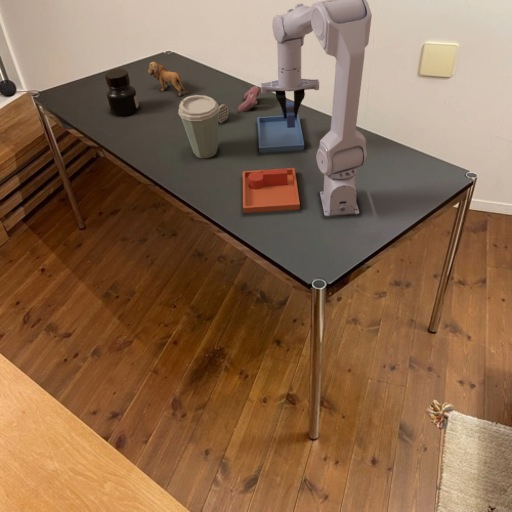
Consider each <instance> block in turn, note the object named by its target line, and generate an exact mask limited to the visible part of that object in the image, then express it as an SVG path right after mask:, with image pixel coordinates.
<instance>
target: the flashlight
mask: <svg viewBox="0 0 512 512" xmlns="http://www.w3.org/2000/svg"><path fill="white" fill-rule="evenodd" d="M188 96H189V95H185V96H182V97H181V98H180V100H179V104H178V106H179V105H180V102H181V101H182V100H183V99H185V98H186V97H188ZM217 103H218V105H219V113H218V124H222V123H223V122H224V121H226V120H227V119H228V118H229V114H230V113H229V107H228V105H227V104H224V103H220V102H217Z"/></svg>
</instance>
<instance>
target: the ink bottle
mask: <svg viewBox="0 0 512 512" xmlns="http://www.w3.org/2000/svg"><path fill="white" fill-rule="evenodd" d="M104 78H105V82H106V85H107V87H108V89H107V90H106V97H107V102H108V105H109V108H110V112H111V114H112V115H115V116H118V117H126V116H130V115H133V114H134V113H136V112H138V110H139V109H140V103H139V99H138V95H137V92H136V91H137V90H136V88H135V87H134V86H133V85H132V84H131V80H130V77H129V71H128V70H126V69H124V68H117V69H116V68H115V69H111V70H109V71H107V72H106V73H105V74H104Z"/></svg>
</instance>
